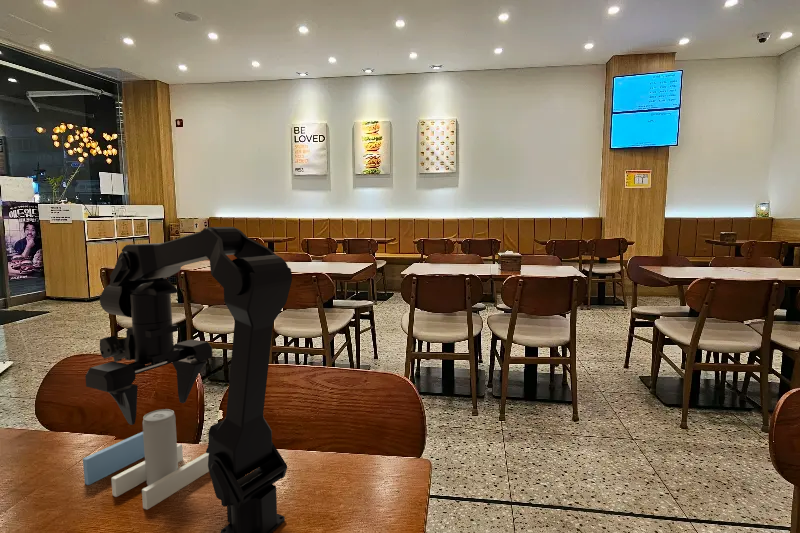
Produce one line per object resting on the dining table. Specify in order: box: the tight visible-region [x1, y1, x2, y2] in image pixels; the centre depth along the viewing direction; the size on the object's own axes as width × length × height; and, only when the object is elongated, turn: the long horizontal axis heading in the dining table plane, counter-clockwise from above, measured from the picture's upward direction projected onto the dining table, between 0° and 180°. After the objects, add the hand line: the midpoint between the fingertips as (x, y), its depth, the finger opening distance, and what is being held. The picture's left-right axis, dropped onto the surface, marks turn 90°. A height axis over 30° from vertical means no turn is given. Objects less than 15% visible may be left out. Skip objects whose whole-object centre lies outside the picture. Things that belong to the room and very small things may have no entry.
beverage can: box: [142, 408, 179, 486], centre depth 74 cm, size 5×5×12 cm
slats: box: [82, 431, 210, 510], centre depth 77 cm, size 16×12×4 cm
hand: (158, 412), depth 74 cm, fingers open, 9 cm apart
